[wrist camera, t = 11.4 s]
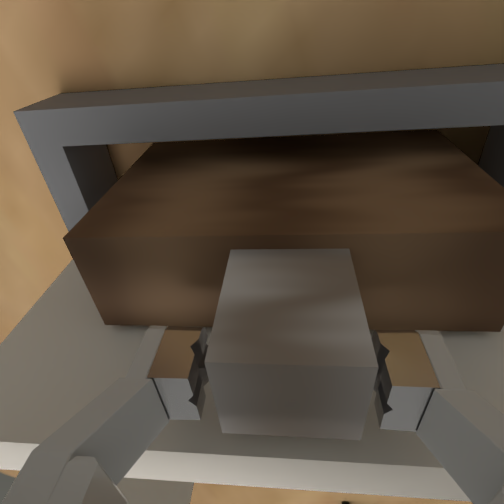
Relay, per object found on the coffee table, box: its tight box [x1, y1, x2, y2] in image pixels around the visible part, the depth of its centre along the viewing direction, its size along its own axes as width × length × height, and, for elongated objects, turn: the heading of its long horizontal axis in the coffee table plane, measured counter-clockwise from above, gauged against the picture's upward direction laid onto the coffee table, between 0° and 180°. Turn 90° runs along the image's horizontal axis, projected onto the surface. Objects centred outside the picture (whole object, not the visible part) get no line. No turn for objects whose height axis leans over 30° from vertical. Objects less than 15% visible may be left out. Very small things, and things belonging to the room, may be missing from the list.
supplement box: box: [117, 477, 194, 504], centre depth 31 cm, size 7×7×13 cm
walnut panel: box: [63, 130, 504, 440], centre depth 13 cm, size 14×4×13 cm, turn 94°
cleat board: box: [0, 64, 504, 501], centre depth 13 cm, size 22×9×13 cm, turn 94°
